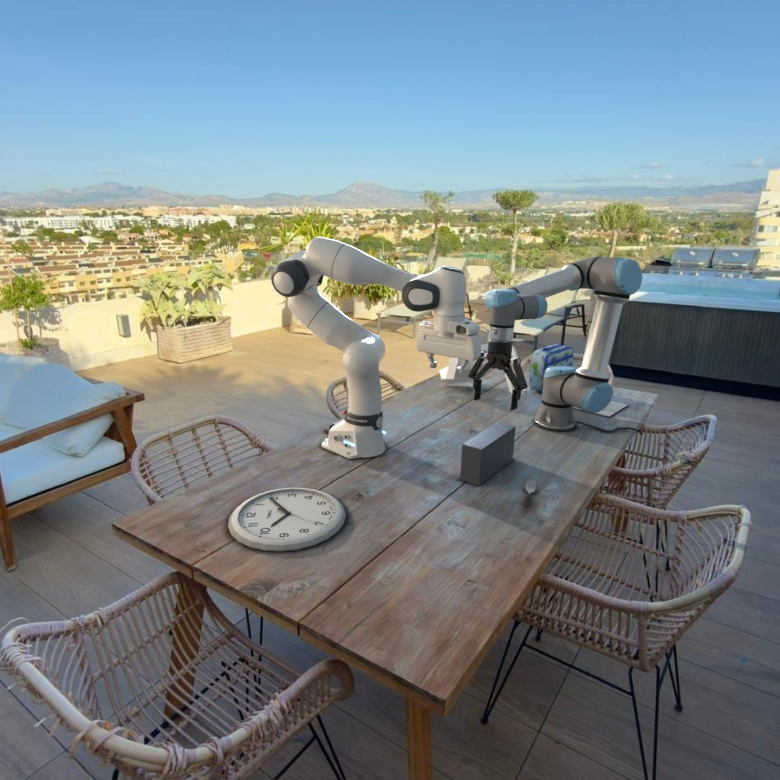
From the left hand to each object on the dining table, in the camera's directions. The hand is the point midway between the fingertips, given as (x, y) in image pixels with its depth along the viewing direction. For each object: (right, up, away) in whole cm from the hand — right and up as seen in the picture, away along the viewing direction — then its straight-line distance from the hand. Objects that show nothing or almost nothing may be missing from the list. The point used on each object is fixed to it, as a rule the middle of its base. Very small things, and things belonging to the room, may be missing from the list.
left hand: (446, 370), depth 155 cm
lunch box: (+59, -5, +95) cm, 112 cm away
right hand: (+17, -11, +14) cm, 25 cm away
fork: (+23, -37, -7) cm, 44 cm away
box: (+14, -31, +11) cm, 36 cm away
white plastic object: (+25, -7, +88) cm, 92 cm away
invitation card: (+75, -13, +71) cm, 104 cm away
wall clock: (-43, -39, -19) cm, 61 cm away
